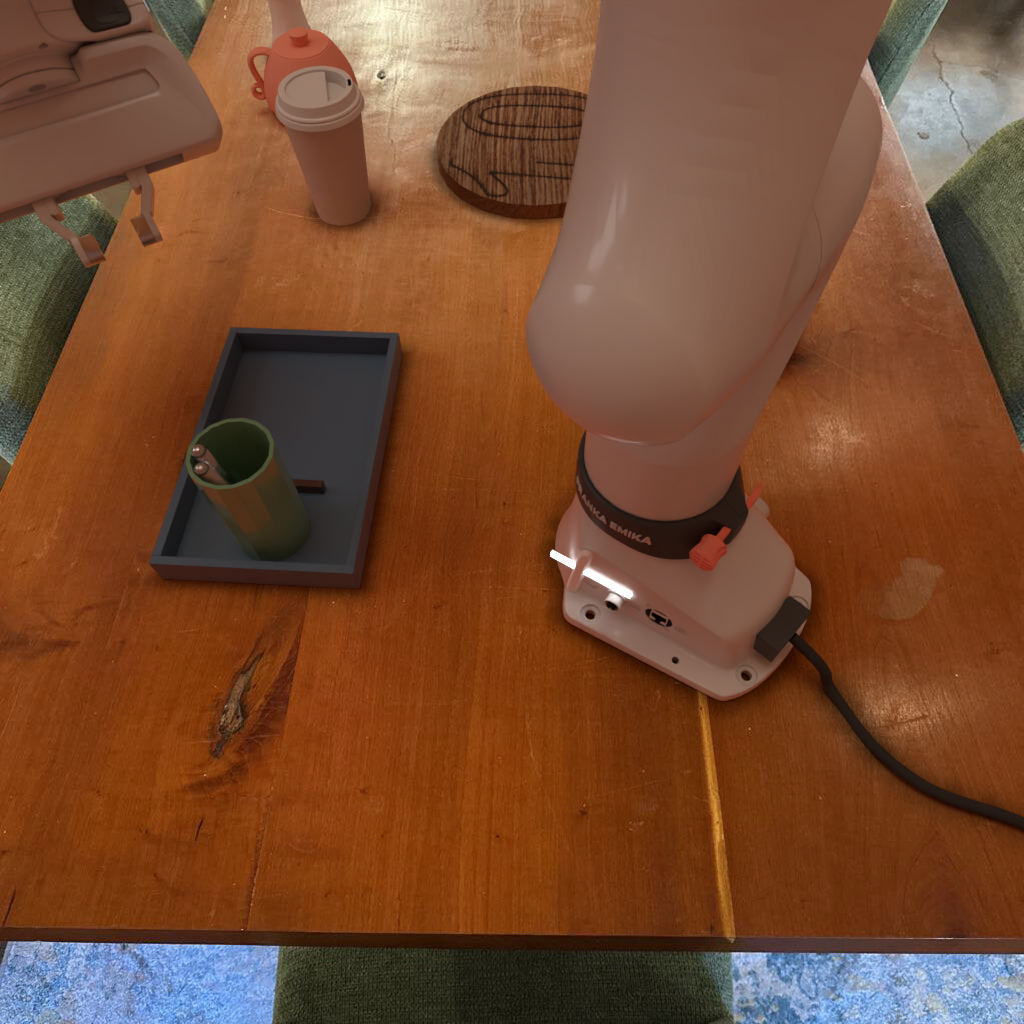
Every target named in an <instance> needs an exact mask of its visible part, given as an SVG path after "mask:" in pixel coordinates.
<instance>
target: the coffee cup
mask: <svg viewBox="0 0 1024 1024" xmlns="http://www.w3.org/2000/svg"><path fill="white" fill-rule="evenodd" d="M364 108H365V98H364V95H363V93H362V90H361V89H360V88H359V85H358V86H357V85H356V84H355V83H354V82H353V80H352V78H351V77H350V75H349V74H348V73H346V72H345V71H343V70H341V69H338V68H335V67H330V66H312V67H307V68H303V69H300V70H297V71H295V72H293V73H291V74H289V75H288V76H286V77H285V78H284V79H283V80H282V81H281V83H280V84H279V87H278V94H277V97H276V102H275V113H274V114H275V116H276V118H277V120H278V121H279V122H280V123H281V124H283V125H284V128H285V130H286V133H287V136H288V138H289V141H290V143H291V145H292V149H293V152H294V155H295V157H296V159H297V162H298V164H299V167H300V170H301V172H302V175H303V178H304V181H305V183H306V186H307V188H308V191H309V194H310V196H311V199H312V202H313V205H314V207H315V210H316V213H317V215H318V217H319V218H320V220H321V221H323V222H324V223H326V224H329V225H332V226H335V227H337V226H338V227H343V226H344V227H345V226H350V225H353V224H356V223H359V222H362V221H363V220H364V219H365V218H366V217H367V216H368V215H369V213H370V212H371V209H372V205H371V204H372V203H371V194H370V184H369V183H370V182H369V176H368V174H369V173H368V166H367V164H368V163H367V156H366V155H367V154H366V146H365V136H364V126H363V115H362V112H363V110H364Z"/></svg>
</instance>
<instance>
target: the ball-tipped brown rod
mask: <svg viewBox="0 0 1024 1024" xmlns="http://www.w3.org/2000/svg"><path fill="white" fill-rule="evenodd" d="M194 473H195V475H197V476H198V477H199V478H200V479H201V480H202V481H204V482H207V483H210V484H214V485H217V486H218V485H232V484H231V483H230V482H228V481H227V480H226V479H225V478H224V477H222V476H221V475H220V474H219V473H218V472H216V471H215V470H214V469H213V468H212V467H210V466H209V465H208V464H207V463H204V462H200V463H197V464H196V465H195V467H194Z"/></svg>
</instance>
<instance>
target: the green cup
mask: <svg viewBox="0 0 1024 1024" xmlns="http://www.w3.org/2000/svg"><path fill="white" fill-rule="evenodd" d="M190 443H191V442H190ZM197 444H201V445H204V446H205V447H206V448H207V449H208V450H209V451H210V452H211V454H212V455H213V456H214V457H215V458H216V459H217V460H218V461H219V462H220V463H221V464H222V465H223V466H224V468H225V469H226V470H227V471H228V472H229V473H230V474H231V475H232V476H233V477H234V478H235V479H236V480H237V481H238V483H236V484H232V485H218V486H217V485H214V484H210V483H207V482H204V481H202V480H201V479H200V478H199V477H198V476H197V475H195V473H194V467H195V465H196V464H197V463H198V462H197V461H196V460H195V459H194V458H193V456H192V455H191V449H192V447H193V446H194V445H197ZM186 455H187V456H186ZM186 455H185V458H186V462H185V464H186V466H187V469H188V472H189V475H190V477H191V478H192V480H193V481H194V483H195V484H196V486H197V487H198V488H199V490H200V491H201V493H202V494H203V496H204V497H205V499H206V500H207V502H208V503H209V505H210V506H211V508H212V509H213V511H214V512H215V514H216V515H217V517H218V518H219V520H220V521H221V523H222V524H223V525H224V527H225V528H226V530H227V531H228V533H229V534H230V536H231V537H232V539H233V540H234V542H235V543H236V545H237V546H238V548H239V549H241V551H242V552H243V553H244V554H245V555H246V556H248V557H249V558H251V559H254V560H256V561H273V562H274V561H279V560H282V559H285V558H287V557H289V556H291V555H292V554H294V553H295V552H297V551H298V550H299V549H300V548H301V547H302V546H303V544H304V543H305V542H306V540H307V538H308V536H309V533H310V528H311V521H310V517H309V514H308V512H307V510H306V507H305V505H304V503H303V501H302V499H301V497H300V495H299V493H298V490H297V488H296V486H295V484H294V482H293V480H292V478H291V476H290V474H289V471H288V469H287V467H286V465H285V463H284V461H283V459H282V457H281V455H280V452H279V450H278V448H277V446H276V444H275V442H274V440H273V438H272V435H271V433H270V431H269V430H268V429H267V428H265V427H264V426H263V425H262V424H260V423H259V422H257V421H253V420H249V419H246V418H234V419H225V420H223V421H220V422H217V423H215V424H212V425H210V426H208V427H207V428H206V429H204V430H203V431H202V432H201V433H199V434H198V435H197V436H196V437H195V439H194V440H193V442H192V443H191V445H190V444H189V446H188V448H187V451H186Z"/></svg>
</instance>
